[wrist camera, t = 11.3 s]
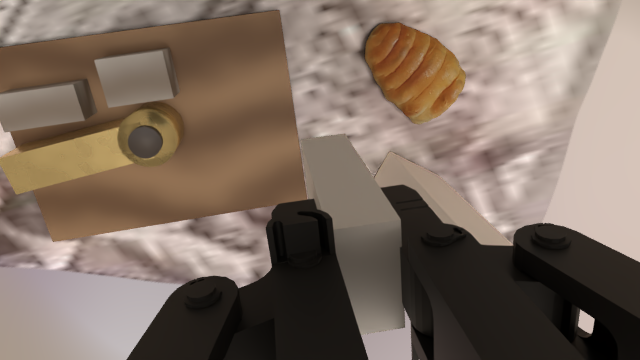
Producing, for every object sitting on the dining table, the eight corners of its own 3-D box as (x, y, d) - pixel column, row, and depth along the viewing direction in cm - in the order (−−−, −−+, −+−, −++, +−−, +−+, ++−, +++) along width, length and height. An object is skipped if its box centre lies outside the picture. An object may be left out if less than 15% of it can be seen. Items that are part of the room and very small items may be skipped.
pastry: (343, 62, 40) (352, 67, 37) (394, 0, 39) (408, -1, 36) (416, 126, 43) (430, 136, 40) (466, 70, 42) (485, 76, 39)
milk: (359, 201, 45) (438, 362, 25) (389, 149, 44) (501, 275, 23) (409, 224, 47) (522, 393, 26) (440, 174, 45) (587, 313, 25)
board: (-13, 49, 36) (-64, 57, 31) (278, 9, 38) (282, 10, 32) (58, 235, 43) (27, 271, 37) (306, 195, 44) (313, 223, 38)
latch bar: (173, 95, 38) (164, 105, 34) (191, 144, 40) (184, 158, 36) (18, 136, 38) (-8, 150, 34) (43, 183, 39) (20, 202, 36)
